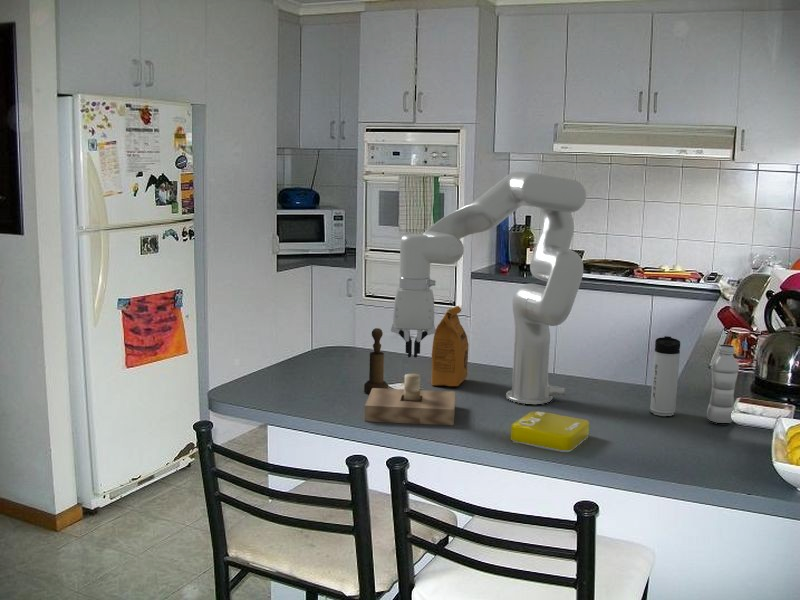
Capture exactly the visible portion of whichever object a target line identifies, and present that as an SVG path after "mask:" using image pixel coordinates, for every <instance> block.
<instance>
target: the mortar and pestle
mask: <svg viewBox="0 0 800 600" xmlns="http://www.w3.org/2000/svg"><path fill="white" fill-rule="evenodd" d="M371 337H372V338H373V340H374V342H373V344H372V348H373V351H369V375H368V380H367V381H366V382H364V385H363V386H364V387H363V392H364V393H365V394H366V395H370V392H371V390H372V388H384V389H389V384H388V383H387V382H386V381H385V380H384V368H385V367H384V366H385V365H384V364H385V352H382V351H381V348H382V343H380V341H381V339H382V337H383V330H382V329H381V328H378V327H376V328H373V329H372V331H371Z"/></svg>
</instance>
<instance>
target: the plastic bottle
mask: <svg viewBox="0 0 800 600" xmlns="http://www.w3.org/2000/svg"><path fill="white" fill-rule="evenodd" d="M717 353H718V355H717V356H716V358H715V359H714V360H713V361H712V363H711V369H710V370H711V393H710V398H709V404H708V406H707V408H706V409H707V410H706V417H707V419H709V420H710V421H713V422H718V423H730V424H731V423H732V422H733V421H732V419H731V413H732V411H733V410H734V411H735V406H734V405H735V404H734V401H735V399H734V398H735V397H734V396H735V388H736V382H737V379H738V374H739V371H740V366H739V363H738V361H737V359H736V358H735V357H734V355H735V346H734V345H732V344H719V346H718V350H717ZM709 420H708V421H709ZM710 421H709V422H710ZM713 422H712V423H713Z"/></svg>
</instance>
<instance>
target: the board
mask: <svg viewBox="0 0 800 600" xmlns="http://www.w3.org/2000/svg"><path fill="white" fill-rule="evenodd" d="M455 412H456V391H447V390H446V391H444V390H425V389H422V390H421V389H420V402H413V401H404V388H402V389H401V388H400V389H399V388H388V389H384V388H372V390H371V392H370V394H368V397H367V399H366V401H365V404H364V422H376V423H377V422H378V423H379V422H380V423H395V424H397V423H398V424H399V423H400V424H416V425H420V424H421V425H441V426H454V425H455V415H456V414H455Z"/></svg>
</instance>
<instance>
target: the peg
mask: <svg viewBox="0 0 800 600" xmlns="http://www.w3.org/2000/svg"><path fill="white" fill-rule="evenodd" d="M403 386H404V388H403V389H404V401H413V402H420V390H421V375H420V374H417V373H406V374H404V385H403Z"/></svg>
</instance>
